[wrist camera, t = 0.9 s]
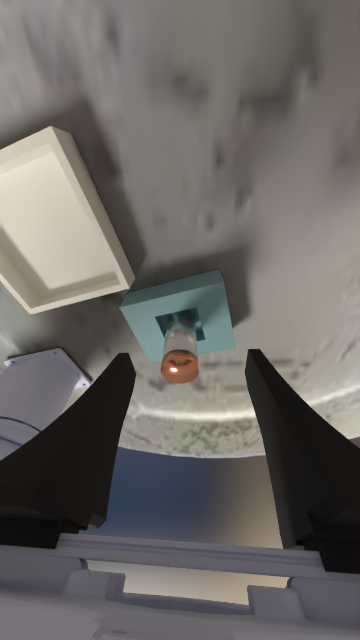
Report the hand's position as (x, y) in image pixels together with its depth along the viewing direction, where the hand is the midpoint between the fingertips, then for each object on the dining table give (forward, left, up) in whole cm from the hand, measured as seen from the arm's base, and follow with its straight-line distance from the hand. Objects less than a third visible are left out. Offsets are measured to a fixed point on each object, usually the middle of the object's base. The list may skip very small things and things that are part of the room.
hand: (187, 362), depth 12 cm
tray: (-10, +8, -10) cm, 17 cm away
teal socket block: (-1, -3, -11) cm, 11 cm away
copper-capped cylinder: (-1, -3, -9) cm, 10 cm away
